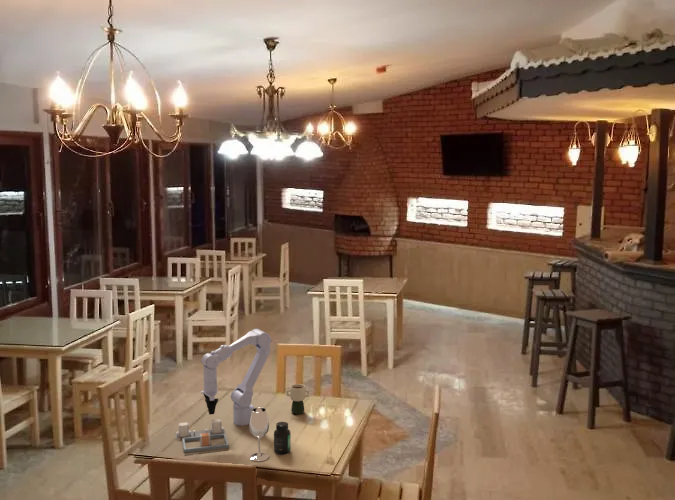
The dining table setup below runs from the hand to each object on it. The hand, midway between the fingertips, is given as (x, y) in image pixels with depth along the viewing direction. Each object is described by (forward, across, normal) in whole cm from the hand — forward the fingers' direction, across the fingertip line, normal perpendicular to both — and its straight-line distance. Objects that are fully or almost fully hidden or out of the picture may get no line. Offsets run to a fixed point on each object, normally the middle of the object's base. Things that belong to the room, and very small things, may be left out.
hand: (210, 410), depth 296 cm
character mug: (+10, -12, +42) cm, 45 cm away
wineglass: (+10, +32, +16) cm, 37 cm away
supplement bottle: (+10, +29, +26) cm, 40 cm away
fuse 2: (+8, +4, +2) cm, 9 cm away
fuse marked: (+9, +16, -4) cm, 19 cm away
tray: (+9, +16, -4) cm, 19 cm away
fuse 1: (+8, +4, -12) cm, 15 cm away
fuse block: (+9, +4, -5) cm, 11 cm away
